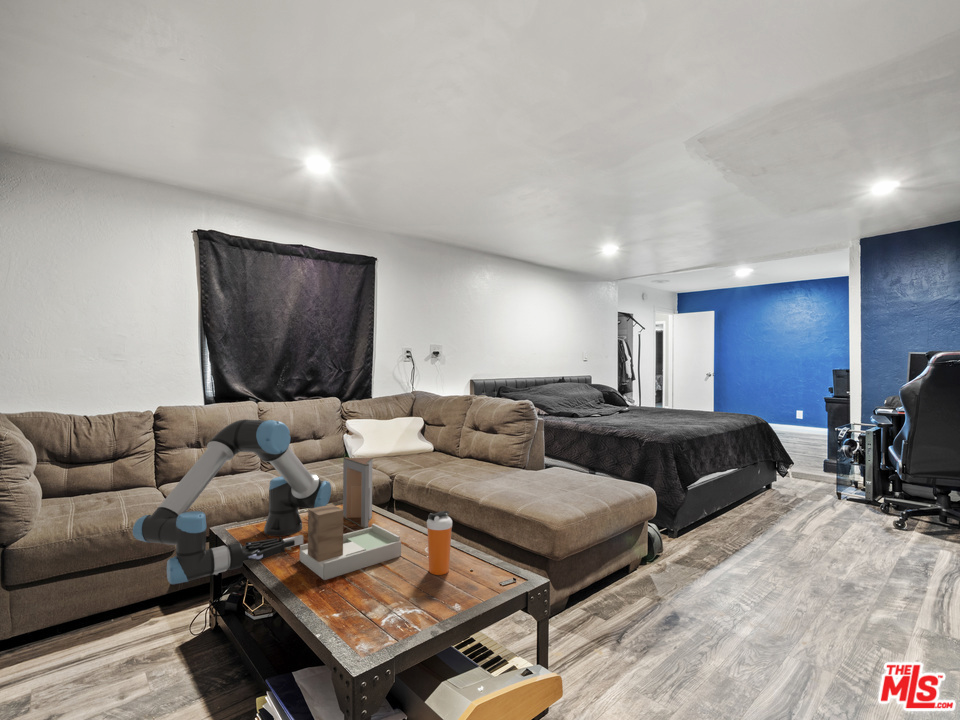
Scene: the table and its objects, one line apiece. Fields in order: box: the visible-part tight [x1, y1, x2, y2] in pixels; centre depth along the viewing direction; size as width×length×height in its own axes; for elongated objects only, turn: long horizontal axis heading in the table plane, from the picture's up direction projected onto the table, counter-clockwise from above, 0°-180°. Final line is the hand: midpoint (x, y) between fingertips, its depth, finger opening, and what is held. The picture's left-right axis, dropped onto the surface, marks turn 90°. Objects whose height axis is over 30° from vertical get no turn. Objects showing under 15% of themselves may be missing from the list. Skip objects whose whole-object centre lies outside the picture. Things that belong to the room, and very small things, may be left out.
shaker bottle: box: [426, 510, 453, 576], centre depth 164 cm, size 9×9×20 cm
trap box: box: [299, 523, 402, 581], centre depth 173 cm, size 21×30×7 cm
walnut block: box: [307, 504, 344, 562], centre depth 167 cm, size 9×9×16 cm
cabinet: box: [342, 456, 373, 529], centre depth 215 cm, size 21×10×28 cm, turn 43°
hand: (302, 539), depth 161 cm, fingers closed
